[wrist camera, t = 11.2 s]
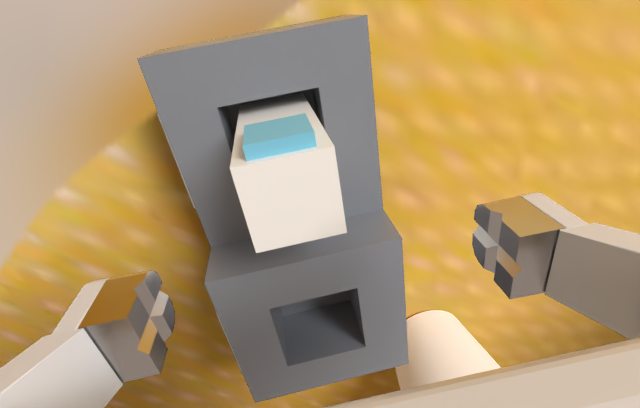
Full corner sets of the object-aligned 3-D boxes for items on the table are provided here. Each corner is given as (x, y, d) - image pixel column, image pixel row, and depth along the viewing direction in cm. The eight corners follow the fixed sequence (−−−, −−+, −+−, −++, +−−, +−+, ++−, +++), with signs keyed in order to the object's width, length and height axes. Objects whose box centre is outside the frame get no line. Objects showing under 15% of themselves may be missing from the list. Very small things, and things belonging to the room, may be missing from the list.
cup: (489, 316, 33) (599, 458, 22) (428, 377, 36) (499, 527, 25) (419, 284, 29) (509, 434, 19) (357, 354, 32) (406, 517, 22)
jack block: (346, 14, 19) (389, 15, 13) (376, 289, 29) (408, 363, 23) (155, 50, 18) (105, 69, 12) (252, 319, 28) (252, 403, 22)
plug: (300, 82, 19) (332, 130, 11) (313, 151, 21) (346, 232, 13) (237, 95, 19) (224, 152, 11) (255, 163, 21) (256, 253, 13)
